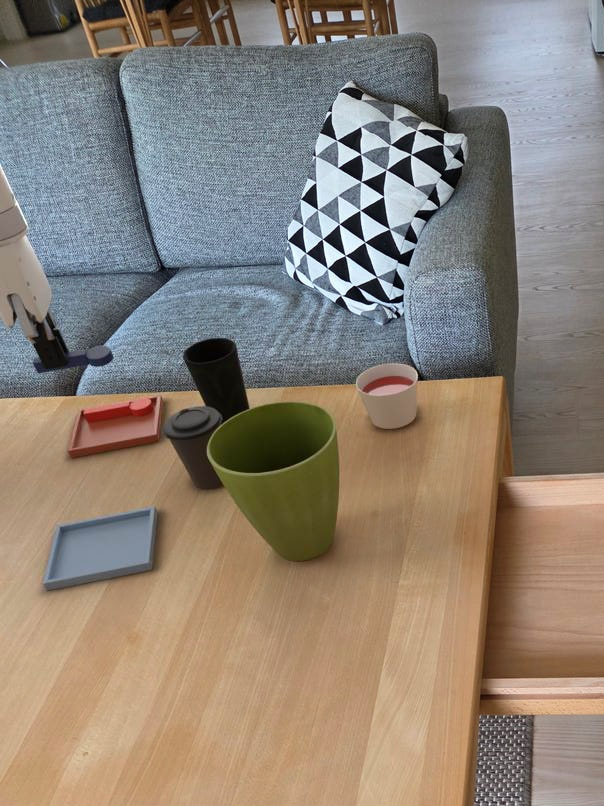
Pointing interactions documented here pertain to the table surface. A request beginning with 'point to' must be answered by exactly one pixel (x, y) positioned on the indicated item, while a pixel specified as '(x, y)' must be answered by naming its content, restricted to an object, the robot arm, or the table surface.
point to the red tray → (115, 431)
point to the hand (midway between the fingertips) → (57, 362)
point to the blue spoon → (81, 359)
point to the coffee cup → (195, 442)
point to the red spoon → (119, 410)
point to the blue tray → (101, 548)
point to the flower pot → (282, 474)
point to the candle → (389, 394)
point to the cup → (218, 375)
